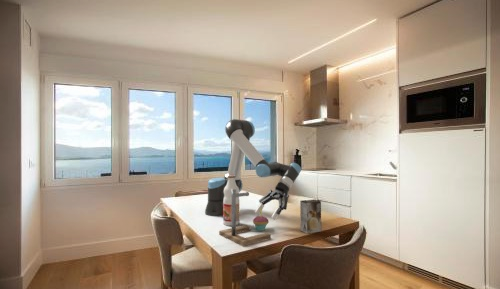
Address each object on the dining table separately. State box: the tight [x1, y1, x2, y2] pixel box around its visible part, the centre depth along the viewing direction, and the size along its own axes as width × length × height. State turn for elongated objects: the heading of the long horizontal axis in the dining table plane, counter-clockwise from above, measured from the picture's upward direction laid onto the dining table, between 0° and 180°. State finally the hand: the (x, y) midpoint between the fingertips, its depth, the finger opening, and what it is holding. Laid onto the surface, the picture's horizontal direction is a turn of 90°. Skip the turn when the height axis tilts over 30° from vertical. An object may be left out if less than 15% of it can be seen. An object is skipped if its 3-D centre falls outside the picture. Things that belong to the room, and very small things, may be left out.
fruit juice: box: [222, 175, 240, 227], centre depth 158 cm, size 9×9×28 cm
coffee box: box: [299, 199, 322, 234], centre depth 144 cm, size 9×6×16 cm
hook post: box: [231, 189, 250, 236], centre depth 133 cm, size 2×10×22 cm, turn 128°
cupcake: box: [252, 207, 269, 232], centre depth 146 cm, size 9×8×12 cm
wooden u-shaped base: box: [218, 224, 272, 247], centre depth 135 cm, size 20×17×2 cm
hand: (264, 216), depth 147 cm, fingers open, 13 cm apart
